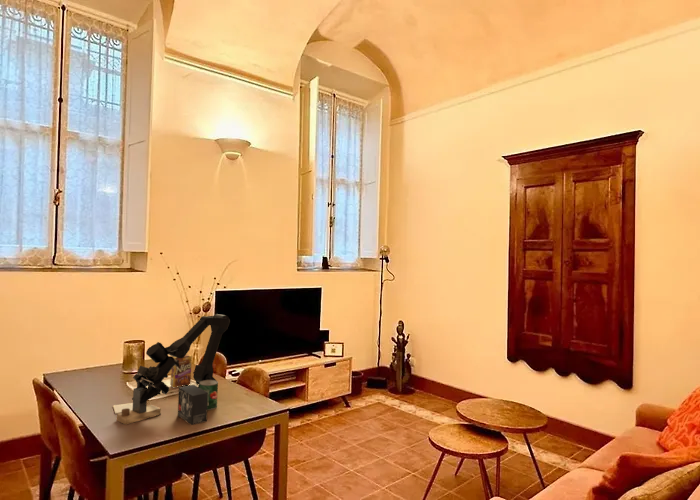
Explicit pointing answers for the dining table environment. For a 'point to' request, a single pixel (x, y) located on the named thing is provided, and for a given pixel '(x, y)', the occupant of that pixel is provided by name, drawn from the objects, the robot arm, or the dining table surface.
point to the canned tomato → (210, 392)
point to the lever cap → (137, 396)
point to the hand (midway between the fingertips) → (136, 401)
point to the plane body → (137, 414)
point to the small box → (192, 404)
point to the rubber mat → (122, 407)
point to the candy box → (181, 371)
